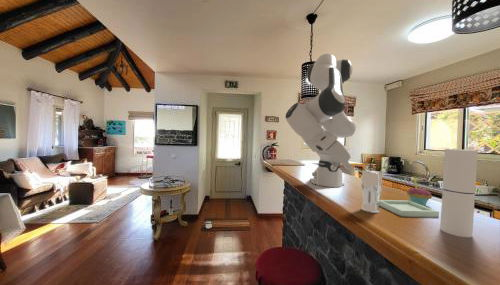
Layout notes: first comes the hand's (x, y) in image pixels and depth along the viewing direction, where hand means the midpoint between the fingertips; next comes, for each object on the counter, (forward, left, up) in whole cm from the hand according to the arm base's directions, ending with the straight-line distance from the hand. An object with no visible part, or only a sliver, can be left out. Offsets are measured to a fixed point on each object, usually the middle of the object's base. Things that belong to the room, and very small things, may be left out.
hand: (343, 167), depth 84 cm
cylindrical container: (+19, +27, -16) cm, 36 cm away
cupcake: (-10, +40, -16) cm, 44 cm away
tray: (-1, +27, -16) cm, 31 cm away
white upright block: (0, +12, -16) cm, 20 cm away
